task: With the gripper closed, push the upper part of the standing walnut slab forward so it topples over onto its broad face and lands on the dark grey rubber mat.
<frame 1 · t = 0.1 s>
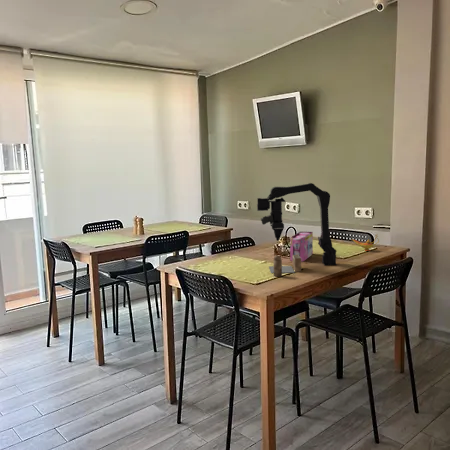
hand: (276, 239, 242), 15 cm above the table, fingers open, 9 cm apart
gum box: (301, 257, 264), on the table
magic lamp: (364, 251, 276), on the table
mat: (281, 269, 234), on the table
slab: (296, 269, 234), on the table
pepper mill: (277, 275, 223), on the table
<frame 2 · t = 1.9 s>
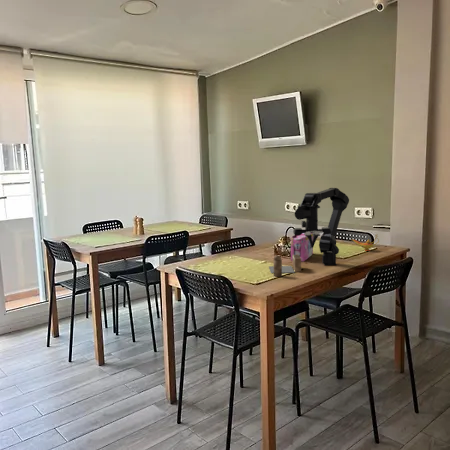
hand: (312, 247, 232), 11 cm above the table, fingers closed
nothing on the table moved.
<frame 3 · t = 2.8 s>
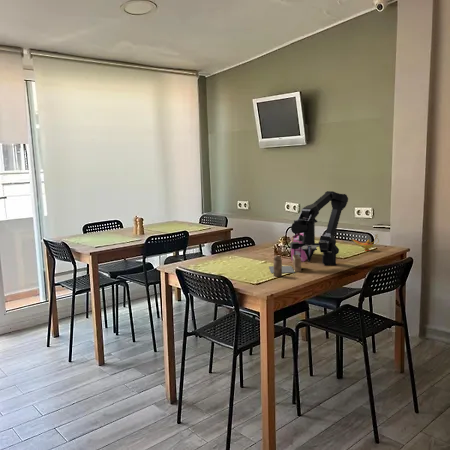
hand: (309, 261, 233), 4 cm above the table, fingers closed
nothing on the table moved.
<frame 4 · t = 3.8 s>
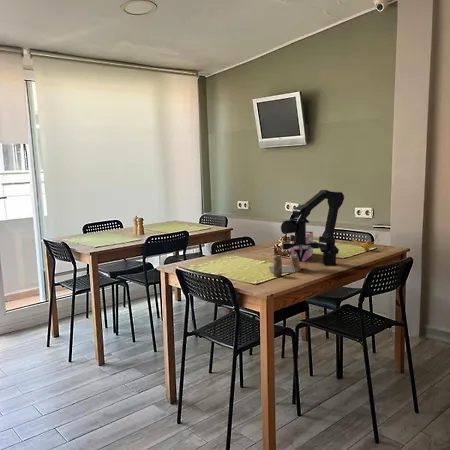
hand: (300, 261, 233), 4 cm above the table, fingers closed
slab: (296, 269, 234), on the table, tilted 14°
everything else where it was.
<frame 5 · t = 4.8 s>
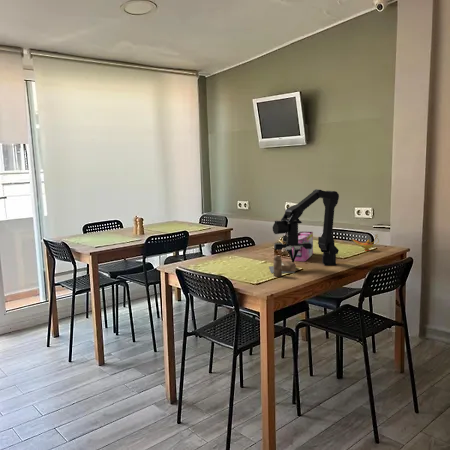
hand: (292, 262, 234), 4 cm above the table, fingers closed
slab: (294, 266, 234), point 2 cm above the table, tilted 89°, touching mat
everything else where it was.
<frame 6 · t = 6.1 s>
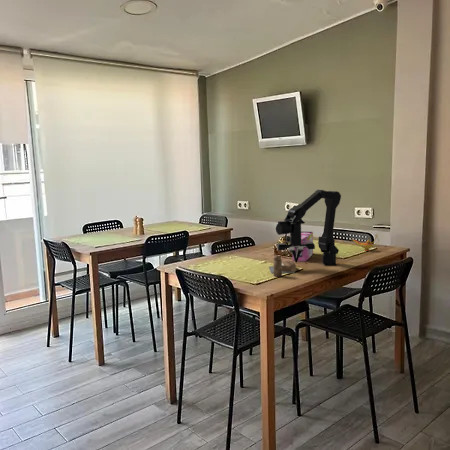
hand: (296, 262, 234), 4 cm above the table, fingers closed
nothing on the table moved.
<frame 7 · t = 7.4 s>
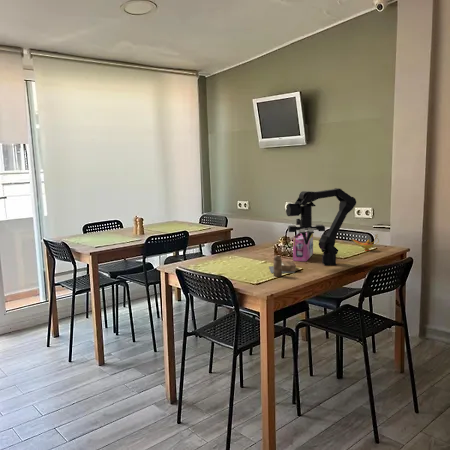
hand: (306, 244, 238), 12 cm above the table, fingers closed
nothing on the table moved.
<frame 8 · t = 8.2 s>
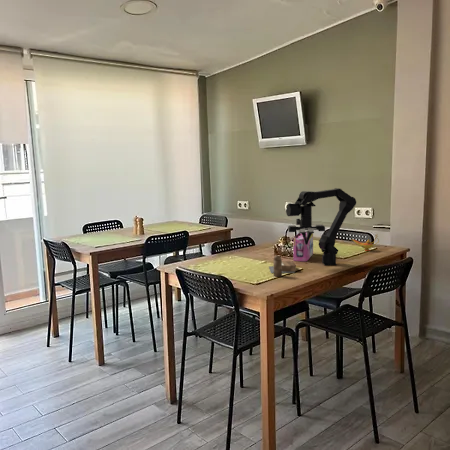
hand: (306, 244, 238), 12 cm above the table, fingers closed
at the end: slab tilted 89°; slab inside the target area (5.8 cm from its centre), point 1.9 cm above the table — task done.
